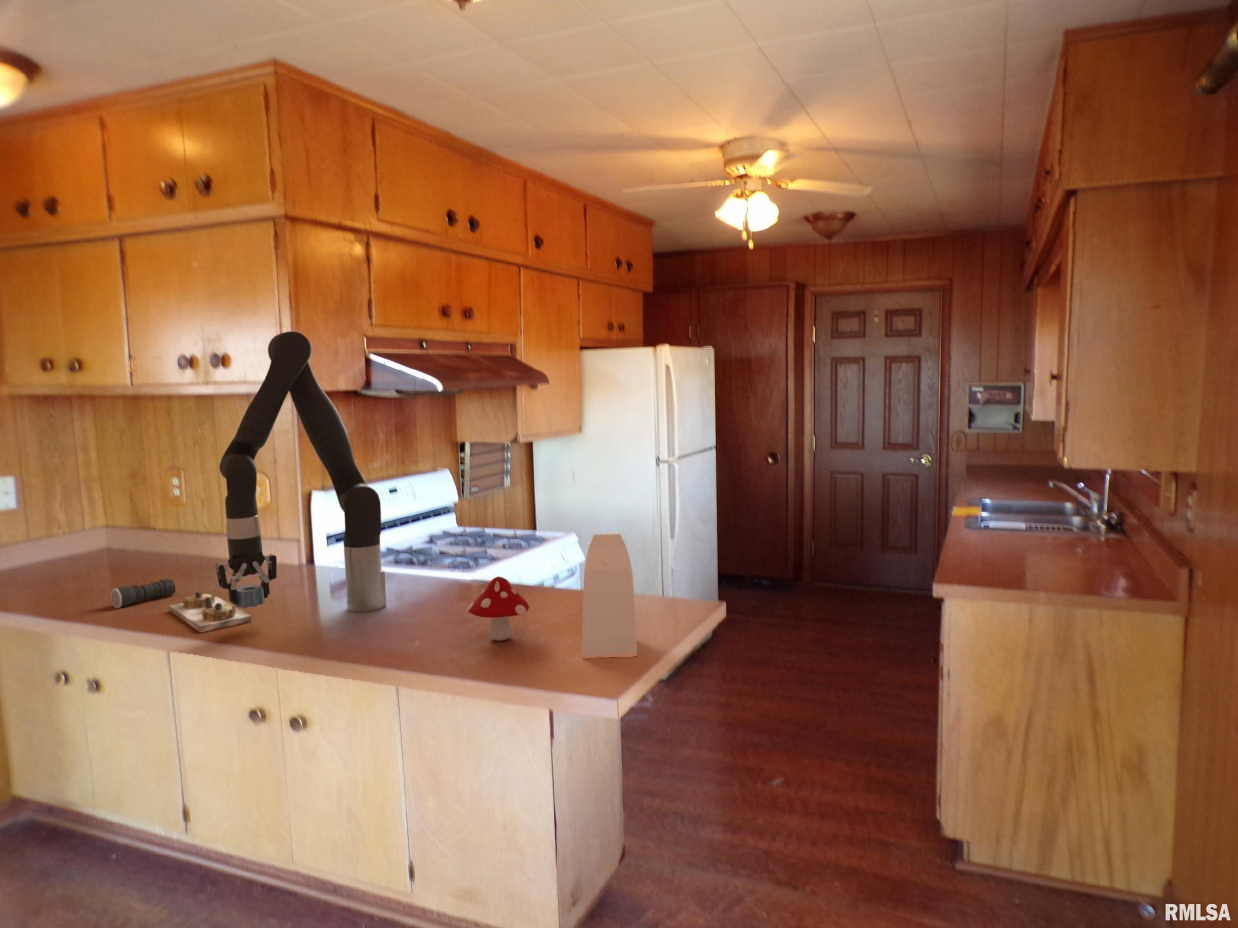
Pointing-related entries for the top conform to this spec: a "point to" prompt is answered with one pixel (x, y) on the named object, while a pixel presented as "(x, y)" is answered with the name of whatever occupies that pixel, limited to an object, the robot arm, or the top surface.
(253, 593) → the loose gear
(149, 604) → the top surface
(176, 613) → the gear board
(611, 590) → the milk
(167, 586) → the flashlight
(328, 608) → the top surface
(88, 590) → the top surface
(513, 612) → the decorative mushroom
